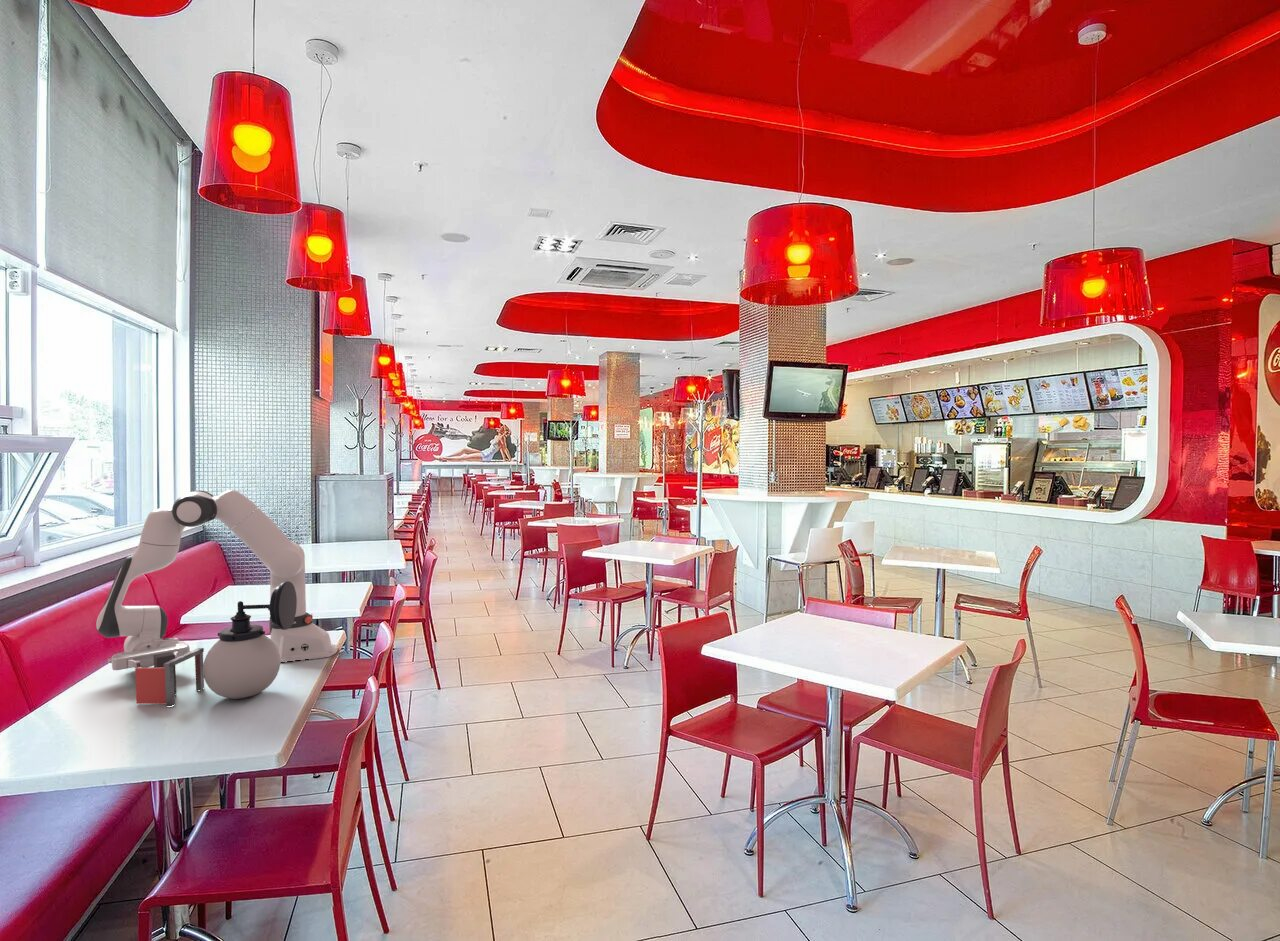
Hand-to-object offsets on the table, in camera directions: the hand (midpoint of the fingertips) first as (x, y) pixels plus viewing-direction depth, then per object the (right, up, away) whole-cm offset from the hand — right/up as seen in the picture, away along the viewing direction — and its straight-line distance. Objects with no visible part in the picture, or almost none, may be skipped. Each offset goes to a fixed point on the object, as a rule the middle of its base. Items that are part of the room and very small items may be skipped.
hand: (156, 661), depth 220 cm
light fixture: (+33, -8, -9) cm, 36 cm away
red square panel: (+10, -8, -15) cm, 20 cm away
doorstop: (+8, -8, -8) cm, 13 cm away
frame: (+16, -8, -10) cm, 20 cm away
